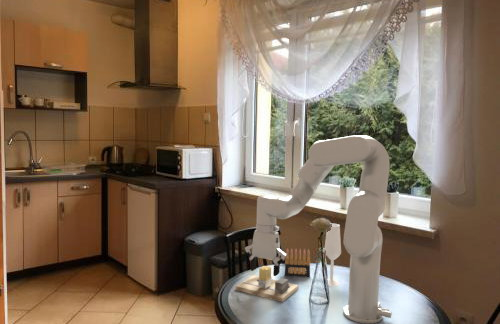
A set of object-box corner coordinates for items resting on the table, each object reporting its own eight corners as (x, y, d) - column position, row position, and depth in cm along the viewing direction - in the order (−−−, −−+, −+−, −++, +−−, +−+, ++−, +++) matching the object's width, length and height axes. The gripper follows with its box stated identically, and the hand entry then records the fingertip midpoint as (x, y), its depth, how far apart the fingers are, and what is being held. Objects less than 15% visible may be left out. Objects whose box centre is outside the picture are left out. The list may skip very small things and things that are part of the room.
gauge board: (298, 288, 153) (298, 275, 153) (282, 301, 141) (283, 286, 140) (253, 278, 163) (253, 265, 162) (235, 289, 151) (235, 275, 150)
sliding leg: (275, 282, 154) (275, 264, 154) (265, 289, 147) (265, 270, 147) (268, 280, 156) (268, 263, 155) (258, 287, 149) (258, 269, 148)
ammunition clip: (309, 275, 168) (310, 248, 167) (310, 277, 166) (310, 249, 165) (284, 274, 169) (285, 246, 168) (284, 276, 167) (285, 248, 166)
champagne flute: (336, 279, 164) (338, 222, 162) (342, 286, 157) (344, 226, 155) (320, 280, 163) (322, 223, 161) (326, 286, 156) (328, 227, 154)
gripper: (291, 229, 147) (289, 274, 149) (251, 223, 156) (249, 265, 157) (282, 233, 141) (280, 280, 142) (241, 226, 149) (240, 270, 151)
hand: (264, 272), depth 150 cm, fingers open, 9 cm apart
